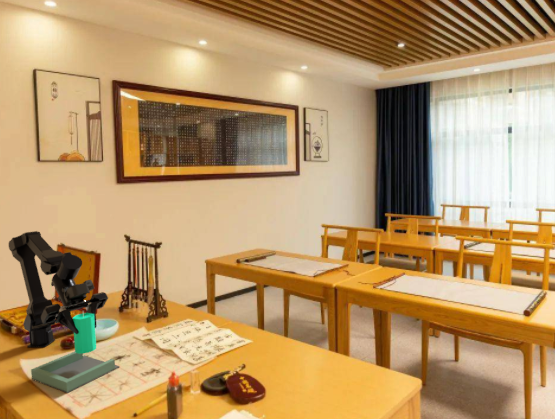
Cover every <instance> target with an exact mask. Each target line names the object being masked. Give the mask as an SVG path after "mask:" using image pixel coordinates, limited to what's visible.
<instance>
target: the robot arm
mask: <svg viewBox="0 0 555 419" xmlns="http://www.w3.org/2000/svg"><path fill="white" fill-rule="evenodd" d="M8 249H9V251H10V252H11V255H12V257H13V258H14V259H15V260H17V262H18V263H19V264H20V269H21V273H22V276H23V280H24V284H25V289H26V293H27V295H28V296H27V297H28V300H29V303H28V305H27V307H26V317H25V318H24V320H23V328H24V330H25V331H27V332H28V333H29V336H28V337H29V344H28V345H26V346H27V348H47V346H49V345H51V344H52V343H54V341H56V338H54V332H53V329H52V326H54V325H56V324H60V325H62V326H64V327H66V328H67V329H68V330H70V331H71V332H73V334H74V333H76V334H78V333H79V331H78V329H77V328H76V326H75V324H74V321H73V317H72V314H71V312H75V311H78V310H81V309H84V308H85V311H86V312H85V313H91V314H94V320H95V329H97V327H98V326H97V315H96V314H97V310H100V309H102V308H104V306H105V305H106V303H107V301H108V299H109V296H108V295H107V293H106V292H104V291H101V292H98V293H94V294H92V295H91V297H90V299H87V300H85V299H86V298H87V294H90V293H91V291H93V290H95V285H94V283H93V281H92V280H91V279H88V280H85V281H83V282H82V283H79V284H78V283H76V281H75V280H74V279H75V278H76V277H77V275H78V274H79V271H80V270H81V267H82V265H83V260H82V259H81V257H79V256H77V255H76V254H72V252H71V251H68V252H64V253H63V252H61V251H58V250H55V249H53V248H52V247H51V245H50V244H49V243H48V242H47V241H46V240H45V239H44V237H43V236H42V234H41V232H40V231H38V230H36V231H28V232H27V231H26V232H24V233H22V234H21V235H18V236H15V237H12V238H11V240H9V241H8ZM36 257H37V258H38V259H39V261H40V267H39V268H40V270H41V271H42V272H43V273H44V275H46V276H50V275H53V276H52V278H51V283H50V284H51V285H50V286H51V287H54V289H55V291H56V293H57V295H58V297H57V301H59V302H61V304H62V305H60V303H56V304H53V301H52V300H51V299H48V298H46V297H45V292H44V290H43V285H42V282H41V278H40V274H39V269H38V266H37V261H36Z"/></svg>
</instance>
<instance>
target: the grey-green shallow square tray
mask: <svg viewBox="0 0 555 419" xmlns="http://www.w3.org/2000/svg"><path fill="white" fill-rule="evenodd" d="M115 360H116V359H112V358H111V359H107V360H106V361H105V360H104V361H103V360H101V359H97V358H95V357H94V358H93V357H91V356H87V355H84V354H78V353H76V352H75V351H73V352H70V353H68V354H65V355H63V356H60V357H57V358H56V359H53V360H51V361H48V362H46V363H44V364H41V365H39V366H36V367H34V368H31V369H30V373H31V380H32V379H34V380H33V381H35V380H36V381H35V382H37V381H38V383H40V382H41V384H43V385H45V386H48V387H50V388H53V389H56V390H58V391H61V392H63V393H65V394H69V393H71V392H72V391H74V390H77V389H79V388H80V387H83V386H85V385H87V384H90V383H91V382H93V381H95V380H97V379H98V378H100V377H103V376H105V375H107V374H108V373H111V372H113V371H116V370H117V369H119V368H120V365H116V362H115Z"/></svg>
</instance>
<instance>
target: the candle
mask: <svg viewBox="0 0 555 419" xmlns="http://www.w3.org/2000/svg"><path fill="white" fill-rule="evenodd" d="M72 319H73V321H74V324H75V326H76V328H77V329H78V331H79V333H78V334H76V333H74V332H73V341H74V343H73V344H74V352H76V353H78V354H83V355H84V354H88V353H91V352H94V351H95V350H97V338H96V337H97V336H96V335H97V334H96V328H95V320H94V314H91V313H86V312H84V311H82V313H79V314H75V315H74V316H73V317H72Z"/></svg>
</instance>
